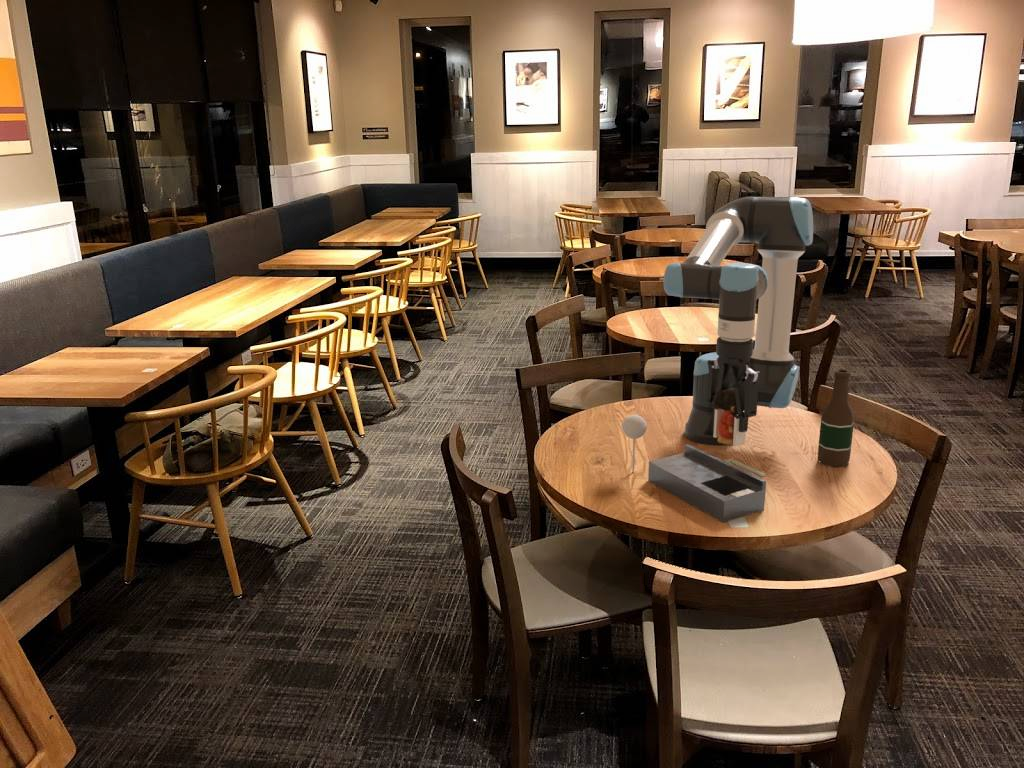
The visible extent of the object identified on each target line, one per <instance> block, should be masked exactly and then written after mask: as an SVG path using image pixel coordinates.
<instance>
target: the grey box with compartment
mask: <svg viewBox="0 0 1024 768" xmlns="http://www.w3.org/2000/svg"><path fill="white" fill-rule="evenodd" d="M647 477H648V478H647V480H648V482H650V483H652V485H656V486H657V487H659V488H661V489H662V490H664V491H665V492H668V493H669V494H671V495H673V496H675V497H676V498H678V499H681V500H682V501H684V502H685V503H687V504H689V505H691V506H693V507H694V508H696V509H698V510H700V511H702V512H703V513H705V514H707V515H709V516H711V517H712V518H714V519H716V520H717V521H720V522H721V523H728V522H730V521H733V520H736V519H739V518H743V517H746V516H748V515H751V514H755V513H758V512H761V511H764V510H765V503H766V491H767V489H766V488H767V480H765V479H763V478H762V477H761V478H760V477H759V476H757V475H756V474H755V475H754V473H753V474H752V473H750V472H748V471H747V470H745V469H742V468H739V466H738V467H737V465H736V466H735V465H734V464H732V463H727V462H725V460H722V459H720V458H718V457H716V456H713V455H712V454H710V453H707V452H705V451H704V450H702V449H699V448H697V447H695V446H693V445H691V444H689V443H687V444H684V452H681V453H677V454H673V455H669V456H666V457H662V458H658V459H653V460H651V461H650V460H649V461H648V476H647Z"/></svg>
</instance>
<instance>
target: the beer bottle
mask: <svg viewBox="0 0 1024 768" xmlns="http://www.w3.org/2000/svg"><path fill="white" fill-rule="evenodd" d="M833 375H834V382H833V388H832V394H831V398H830V400H829V402H828V404H827V405H826V406H825V407H824V409H823V411H822V414H821V418H820V426H819V438H818V439H819V440H818V447H817V461H818V462H819V461H820V462H819V463H820V464H821V465H824V466H826V465H827V466H828V467H831V468H832V467H833V468H842V467H846V466H847V465H848V464H849V462H850V460H851V452H852V443H853V435H854V434H853V433H854V424H855V412H854V410H853V407H852V406H851V404H850V403H849V389H850V388H849V385H850V384H849V383H850V382H849V381H850V377H851V372H850V371H849V370H847V369H837V370H835V372H834V374H833Z"/></svg>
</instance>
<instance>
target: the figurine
mask: <svg viewBox="0 0 1024 768" xmlns="http://www.w3.org/2000/svg"><path fill="white" fill-rule="evenodd" d="M714 403H715V404H716V407H717V408H719V409H723V410H724V414H723V415H722V417H721V420H722V421H721V422H720V423H719V425H718V429H719V432H720V435H719V437H718V440H717V441H718V443H723V444H725V445H727V446H728V445H729V446H731V445H732V446H733V435H734V420H735V416H738V413H737V406H736V399H735V391H734V388H728V389H726V390H722V391H716V395H715V397H714Z"/></svg>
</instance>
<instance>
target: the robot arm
mask: <svg viewBox="0 0 1024 768" xmlns="http://www.w3.org/2000/svg"><path fill="white" fill-rule="evenodd" d="M813 241H814V214H813V208H812V203H811V201H809V199H808V198H804V197H796V196H795V197H794V196H745V197H741V198H737V199H735V200H732V201H730V202H728V203H726V204H724V205H723V206H720V207H719V208H718V209H717V210H715V212H713V213H712V214H711V216H710V217H709V218H708V220H707V222H706V226H705V231H704V232H703V234H702V235H701V237H700V238H699V240H698V241H697V242H696V244H695V246H694V247H693V248H692V250H691V252H690V253H689V254H688V256H687V257H686V259H685V260H684V261H683V262H670V263H668V265H666V268H665V270H664V274H663V289H664V292H665V294H667V295H668V296H673V297H677V298H678V297H679V298H681V299H682V298H692V299H693V298H694V299H708V300H717V301H718V314H717V315H718V316H717V317H718V318H717V319H718V320H717V331H716V332H717V333H716V334H717V335H718V336H719V337H717V339H716V350H715V352H709V353H705V354H702V355H700V356H699V357H697V358H696V360H695V361H694V369H693V383H692V384H693V385H692V386H693V388H692V408H691V411H690V412H689V416H688V419H687V422H686V423H685V427H684V436H685V437H686V438H687V439H688V440H691V441H693V442H694V443H695V442H696V443H698V444H704V445H712V446H713V445H714V446H721V445H722V446H724V445H726V444H723V443H718V441H717V440H718V437H719V435H720V432H719V429H718V425H719V423H720V422H721V421H722V420H721V417H722V415H723V414H724V410H723V409H719V408H717V407H716V404H715V403H714V397H715V395H716V391H722V390H726V389H728V388H734V391H735V399H736V406H737V413H738V415H737V416H735V420H734V435H733V445H732V446H733V447H738V446H743V445H745V444H746V443H745V442H746V432H747V431H748V429H749V428H748V427H749V418H753V417H755V416H757V413H758V412H757V411H758V407H765V408H768V409H772V408H774V409H785V408H787V407H789V406H790V404H791V402H792V399H793V397H794V395H795V391H796V388H797V384H798V380H799V376H800V367H799V365H796V364H794V362H795V361H794V360H795V357H794V356H793V355H792V353H790V351H789V350H790V338H791V331H792V330H791V329H792V319H793V311H794V310H793V308H794V301H795V300H794V299H795V291H796V290H795V289H796V279H797V271H798V270H797V269H798V260H799V258H800V257H801V256H803V254H804V253H805V252H806V246H807V247H809V246H810V245H812V244H813ZM739 243H753V244H754V243H755V244H757V248H756V250H757V251H758V253H759V254H760V255H761V257H762V263H761V266H760V265H757V264H753V263H748V262H731V263H725V264H723V262H724V260H725V258H726V257H727V256H728V253H729V252H730V250H731V249H732V247H734V246H736V245H737V244H739ZM721 264H723V265H721ZM757 300H758V305H757ZM756 307H758V308H757V317H756ZM755 323H756V324H755ZM755 325H756V328H755ZM753 337H755V340H754V339H753Z"/></svg>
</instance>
